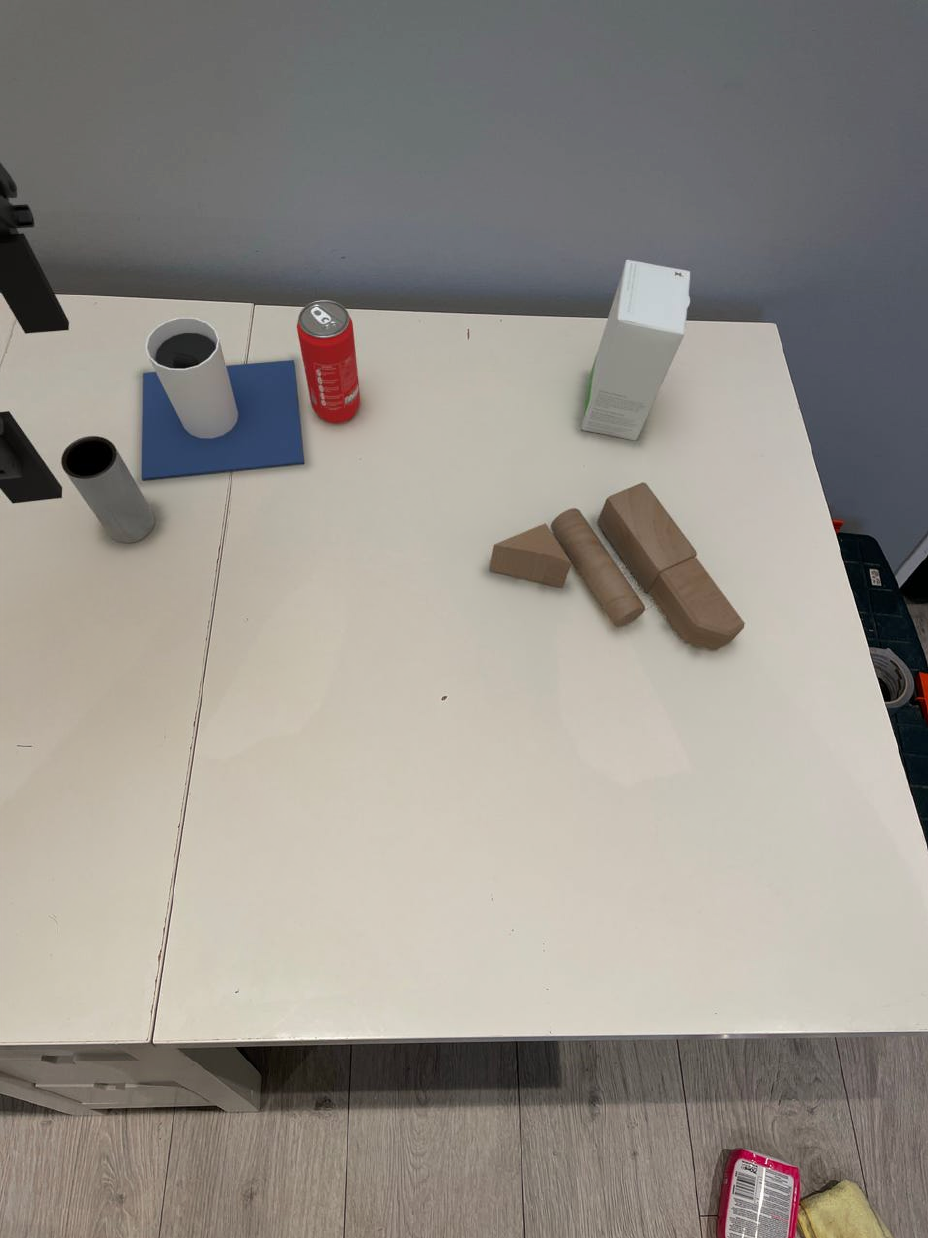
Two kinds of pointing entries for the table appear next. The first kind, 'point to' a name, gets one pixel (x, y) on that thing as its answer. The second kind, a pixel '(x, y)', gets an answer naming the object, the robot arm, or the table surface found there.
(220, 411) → the white cup
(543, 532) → the wooden block set
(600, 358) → the cosmetic box
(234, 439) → the cloth mat
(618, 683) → the table surface
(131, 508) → the gray tube
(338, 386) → the beverage can
